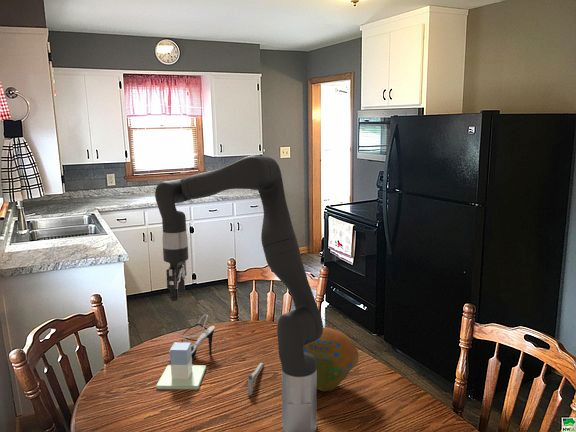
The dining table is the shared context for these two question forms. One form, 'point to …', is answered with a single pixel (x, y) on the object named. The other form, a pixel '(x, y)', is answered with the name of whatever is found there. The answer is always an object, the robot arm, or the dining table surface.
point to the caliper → (253, 378)
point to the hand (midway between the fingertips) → (178, 295)
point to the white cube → (181, 371)
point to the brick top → (180, 353)
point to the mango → (332, 358)
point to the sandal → (200, 337)
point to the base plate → (192, 383)
